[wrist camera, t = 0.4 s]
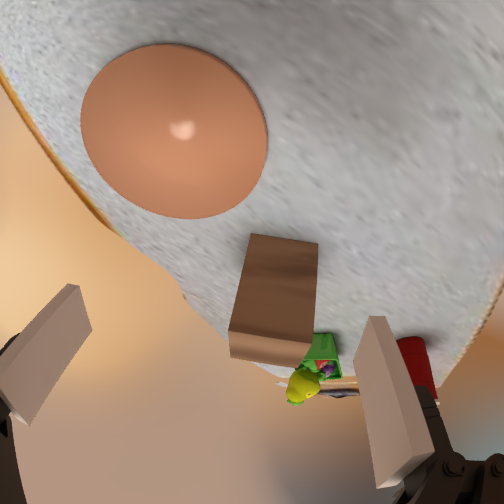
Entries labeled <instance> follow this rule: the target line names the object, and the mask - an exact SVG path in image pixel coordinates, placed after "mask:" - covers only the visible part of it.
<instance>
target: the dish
mask: <svg viewBox="0 0 504 504" xmlns="http://www.w3.org/2000/svg"><path fill="white" fill-rule="evenodd" d="M81 133H82V138H83V142H84V146H85V148H86V151H87V154H88V156H89V158H90V160H91V162H92V164H93V165H94V167H95V168H96V170H97V171H98V173H99V174H100V175H101V176H102V178H103V179H104V180H105V181H106V182H107V183H108V184H109V185H110V186H111V187H112V188H113V189H114V190H115V191H116V192H117V193H119V194H120V195H121V196H123V197H124V198H125V199H127V200H128V201H130V202H132V203H133V204H135V205H137V206H139V207H141V208H143V209H145V210H148V211H150V212H153V213H156V214H159V215H163V216H167V217H172V218H180V219H199V218H207V217H211V216H215V215H218V214H221V213H223V212H226V211H228V210H230V209H231V208H233V207H235V206H236V205H238V204H239V203H240V202H242V201H243V200H244V199H245V198H246V197H247V196H248V195H249V194H250V193H251V191H252V190H253V188H254V187H255V186H256V184H257V182H258V180H259V178H260V176H261V173H262V170H263V167H264V163H265V159H266V154H267V148H268V133H267V126H266V121H265V118H264V114H263V111H262V108H261V106H260V104H259V102H258V100H257V98H256V96H255V94H254V93H253V92H252V90H251V89H250V87H249V86H248V84H247V83H246V82H245V81H244V80H243V79H242V77H241V76H240V75H239V74H238V73H237V72H236V71H234V70H233V69H232V68H231V67H230V66H228V65H227V64H226V63H224V62H223V61H221V60H220V59H218V58H216V57H215V56H213V55H211V54H209V53H206V52H204V51H202V50H199V49H196V48H192V47H189V46H185V45H177V44H155V45H149V46H144V47H141V48H138V49H135V50H132V51H130V52H128V53H126V54H124V55H122V56H120V57H118V58H117V59H115V60H113V61H112V62H110V63H109V64H108V65H107V66H105V67H104V68H103V69H102V70H101V71H100V72H99V73H98V74H97V75H96V77H95V78H94V80H93V81H92V83H91V84H90V86H89V88H88V90H87V92H86V94H85V97H84V100H83V104H82V109H81Z"/></svg>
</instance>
